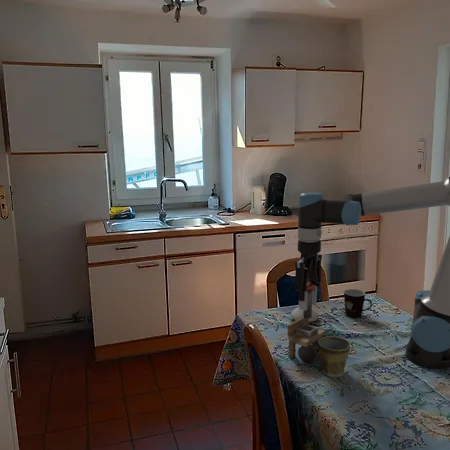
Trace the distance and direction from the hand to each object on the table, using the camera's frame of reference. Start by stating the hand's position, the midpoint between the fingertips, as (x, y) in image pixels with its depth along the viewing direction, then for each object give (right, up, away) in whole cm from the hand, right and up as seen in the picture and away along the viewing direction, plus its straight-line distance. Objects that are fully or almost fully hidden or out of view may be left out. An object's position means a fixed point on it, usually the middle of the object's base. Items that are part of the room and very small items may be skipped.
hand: (307, 306), depth 155 cm
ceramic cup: (+7, -19, -7) cm, 22 cm away
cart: (+1, -17, +3) cm, 17 cm away
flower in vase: (+5, -11, +32) cm, 35 cm away
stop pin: (0, -4, +1) cm, 4 cm away
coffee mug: (+26, -11, +35) cm, 45 cm away
